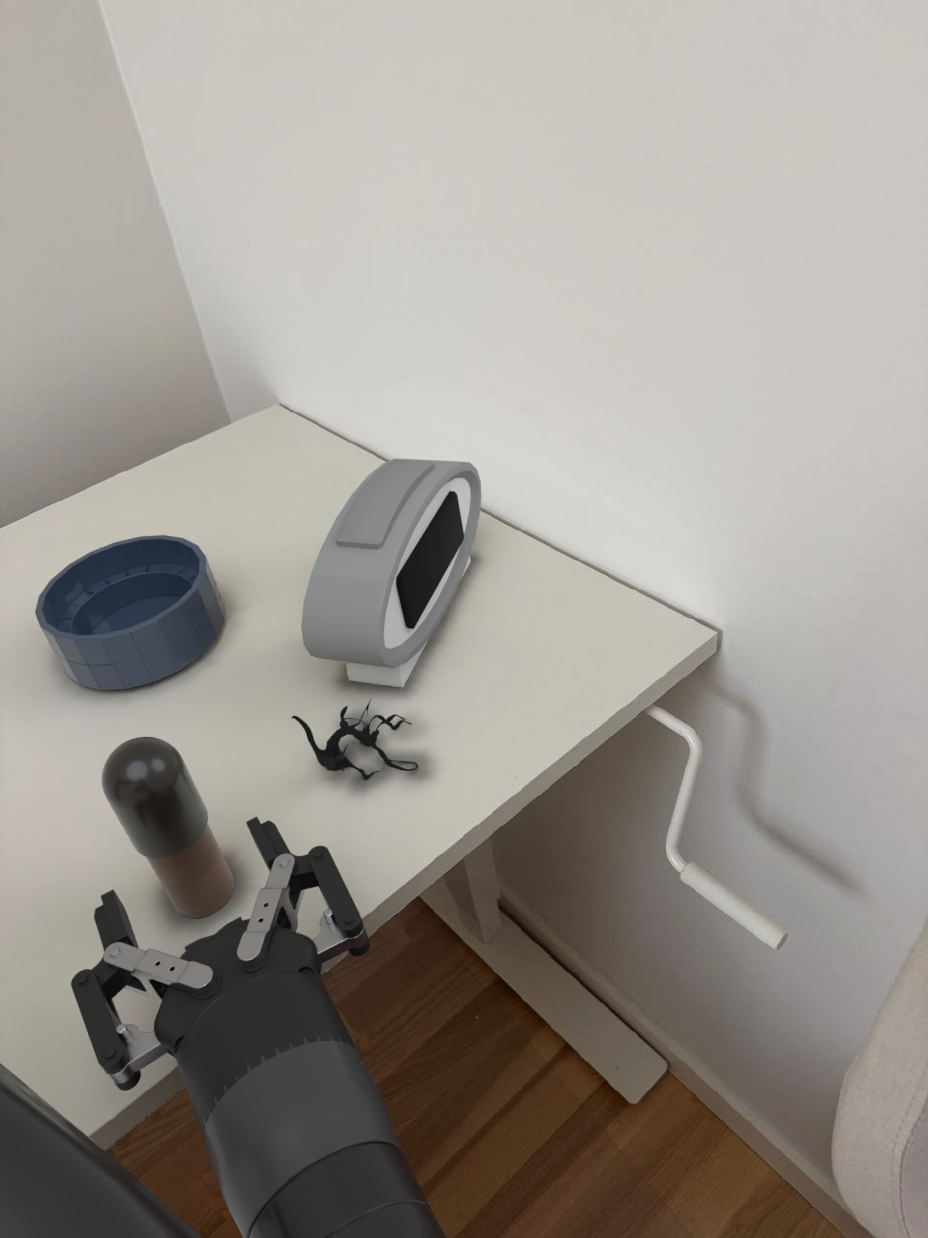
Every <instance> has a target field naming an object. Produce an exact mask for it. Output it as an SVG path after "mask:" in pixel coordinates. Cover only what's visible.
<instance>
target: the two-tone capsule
mask: <svg viewBox="0 0 928 1238" xmlns="http://www.w3.org/2000/svg"><path fill="white" fill-rule="evenodd" d="M101 786H102V787H101V788H102V791H103V794H104V797H105V799H106V800H107V802H108V804H109V806H110V807H111V809H112V811H113V813H114V814H115V816H116V818H117V820H118V821H119V823H120V825H121V827H122V829H123V830H124V832H125V833H126V835H127V837H128V840H129V841H130V842H131V844H132V846H133V847H134V849H135V850H136V852H137V853H138V854H140V855H142V857H143V856H144V857H145V858H146V860H147V861H148V863H149V865H150V866H151V869H152V870H153V873H154V874H155V875H156V877H157V879H158V881H159V882H160V885H161V886H162V888H163V890H164V891H165V894H166V895H167V897H168V899H169V900H170V902H171V904H172V906H173V907H174V910H175V911H176V912H177V913H178V914H179V915H181V916H183V917H185V918H189V919H202V918H207V917H209V916H211V915H213V914H215V913H217V912H218V911H219V910H221V909H222V908H223V907H224V906H225V905H226V904H227V903H228V902H229V900H230V899H231V897H232V896H233V894H234V889H235V883H236V882H235V877H234V874H233V873H232V870H231V868H230V867H229V865H228V863H227V860H226V858H225V856H224V854H223V852H222V849H221V848H220V846H219V844H218V841H217V840H216V837H215V835H214V833H213V831H212V829H211V827H210V825H209V811H208V809H207V807H206V805H205V802H204V800H203V798H202V796H201V794H200V792H199V790H198V788H197V786H196V784H195V781H194V779H193V777H192V775H191V773H190V771H189V769H188V767H187V765H186V763H185V760H184V758H183V756H182V755H181V753H180V752H179V751H178V749H176V747H174V746H173V745H172V744H171V743H169V742H168V741H166V740H164V739H162V738H159V737H154V736H139V737H134V738H131V739H128V740H126V741H124V742H122V743H120V744H119V745H118V746H117V747H116V748H114V749H113V751H112V752H111V753H110V754H109V756H108V757H107V759H106V761H105V762H104V765H103V767H102V772H101Z"/></svg>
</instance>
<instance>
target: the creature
mask: <svg viewBox="0 0 928 1238" xmlns="http://www.w3.org/2000/svg"><path fill="white" fill-rule="evenodd" d="M372 699H373V698H372V697H370V699H369V701H368V703H367V705H366V706H365V709H364V711H363V712H362V713H361V716H360V719H358V718H353V717H345V715H346V713H347V711H348V708H349V705H346V706H344V707H343V708H342V709H341V711H340V713H339V716H340V721H339V727H340V728H338V729H336V730H335V731H334V732H333V734H332V735H331V736H330V737H329V739H327V741H326V746H325V748H324V749H321V748H320V747H319V746H318V745H317V743H316V740H315V737H314V734H313V732H312V729H311V727H310V726H309V725H308V723H307V722H306V721H304V720H303V718H301V717H299V716H298V715H292V716H291V717H290V719H291V720H292V719H294V720H296V721H297V722H298V723H299V725H300V726H301V727H302V728H303V730H304V732H305V735H306V738H307V741H308V743H309V745H310V747H311V748H312V751H313V752H314V754H315V756H316V757H315V758H316V759H317V762H318V763H319V765H320V766H321V767H323V768H325V769H326V771H328V772H338V771H342V772H344V771H345V770H346V769H348V768H350V769H351V768H352V769H354V770H356V771H358V772H359V773H360V774H361V777H362V778H363V779H364V781H368V780H369V779H370V778H371V777H372V776H373V775H374V774H375V773H379V772H380V771H382V770H383V769H384V768H385V766H387V767H388V768H391V769H396V770H398V771H402V772H412V771H416V770H418V768H419V765H418V763H417V762H415V761H411V760H396V759H395V760H394V759H389V758H388V756H387V754H386V753H385V751H383V750H382V748H380V747H379V746H378V745H377V742H378V736H379V734H380V730H379V728H380V726H381V725H386V726H388V727H389V728H390V729H391V731H395V732H396V731H397V730H398V729H399V728H400V726H401V725H402V724H403V723H406V724H408V725H411V726H412V725H413V723H412V722H409V721H406V720H407V719H406V718H405V717H403V716H400V715H399V714H395V713H394V714H392V715H389V716H388V717H384V716H383V715H381V714H374V716H373V717H372V718H371V719H370V721H369V723H366V722H365V721H363V720H362V719H363V717H364V715H365V712H366V715H367V716H368V715H369V714H368V713H369V708H370V707H369V706H370V704H371V701H372ZM395 717H398V718H400V720H398V721H397V722H396V723H395V724H393V723H392V721H393V719H394V718H395ZM376 718H377V719H379V720H380V723H379V724H378V725H377V726H376V729H375V730H373V731H372V732H371V729H370V727H371V723H372V721H373V720H374V719H376ZM347 720H356V721H358V722H357V723H354V724H351V725H349V722H348V721H347ZM361 722H362V723H363V724H364V726H363V728H362V730H359V729H357V728H356V727H358V726H359V725H360V724H361ZM347 735H348V736H352V737H354V739H356V740H357V741H359V744H361V745H363V746H364V747H366V748H372V749H374V750H375V751H376V752H377V754H378V755H379V756H380V758H381V759H382V761H383V762H384V765H383V766H384V767H382V768H381V770H376V771H372V772H370V773H369V774H367V773H366V772H365V770H364V769H363V768H359V767H358V766H356V765H355V764H354V763H352V761H351V760H349V758H348V757H347V756H346V755H345V754H346V750H347V748H348V744H346V745H345V747H344V749H343V751H342V750H341V748H340V743H341V739H342V738H344V737H346V736H347ZM353 744H355V742H353V743H351V745H353ZM394 762H395V763H408V764H414V765H415V767H414V768H413V767H412V768H405V767H403V766H400V765H398V764H395V763H394Z"/></svg>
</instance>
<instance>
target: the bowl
mask: <svg viewBox="0 0 928 1238" xmlns="http://www.w3.org/2000/svg"><path fill="white" fill-rule="evenodd" d="M225 608H226V607H225V602H224V600H223V597H222V595H221V592H220V590H219V588H218V584H217V582H216V580H215V576H214V574H213V571H212V568H211V566H210V564H209V561H208V558H207V556H206V555H205V553H204V552H203V550H202V549H201V547H200V546H199V545H198V544H196V543H194V542H193V541H190V540H188V539H186V538H185V537H179V536H173V535H166V534H158V535H157V534H156V535H142V536H141V535H140V536H135V537H132V538H127V539H124V540H119V541H115V542H112V543H110V544H107V545H105V546H102V547H99V548H97V549H94V550H91V551H89V552H88V553H86V554H84V555H82V556H81V557H79V558H77V559H75V560H74V561H72V562H71V563H69V564H68V565H66V566H65V567H64V568H63V569H62V570H61V571H59V572H58V573H57V574H56V575H55V576H53V577H52V578H51V579H50V580H49V581H48V582H47V584H46V585H45V587H44V588H43V589H42V591H41V592H40V593H39V595H38V598H37V602H36V606H35V611H34V615H35V617H36V619H37V622H38V625H39V627H40V630H41V631H42V633H43V635H44V636H45V639H46V640H47V642H48V644H49V646H50V648H51V650H52V651H53V653H54V655H55V657H56V659H57V661H58V662H59V664H60V666H61V668H62V670H63V672H64V673H65V675H66V676H68V677H69V678H70V679H71V680H73V681H74V682H76V684H78V685H80V686H84V687H88V688H92V689H95V690H101V691H103V690H104V691H105V690H126V689H127V690H128V689H131V688H135V687H139V686H143V685H147V684H151V683H154V682H157V681H160V680H161V679H163V678H166V677H168V676H170V675H173V674H175V673H177V672H179V671H182V669H184V668H186V667H187V666H188V665H190V664H192V663H193V662H194V661H195V660H196V659H198V658H199V657H201V656H202V655H203V654H204V653H205V652H206V651H207V649H209V648H210V647H211V645H212V644H213V643H214V642H215V641H216V640H217V639H218V637H219V635H220V632H221V631H222V628H223V627H224V624H225V621H226V609H225Z"/></svg>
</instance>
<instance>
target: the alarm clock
mask: <svg viewBox="0 0 928 1238" xmlns="http://www.w3.org/2000/svg"><path fill="white" fill-rule="evenodd" d="M481 481H482V480H481V477H480V475H479V470H478V469H477V468H476V467H475V466H474V464H472V462H470V461H459V460H458V461H457V460H439V459H438V460H437V459H415V458H392V459H390V460H388V461H386V462H384V463H383V462H382V463H381V464H380V465H379V466H378V467H377V468H376V469H374V470H373V471H372V472H371V473H369V474H368V475H367V476H366V477H365V478H364V479H363V480H362V482H361V483H360V484H359V485H358V487H357V488H356V489H355V490H354V491H353V492H352V494H351V495H350V497H349V498H348V500H346V503H345V504H344V506H343V507H342V509H341V510H340V511H339V513H338V515H336V518H335V520H334V522H333V524H332V526H331V527H330V529H329V531H328V533H327V534H326V537H325V539H324V541H323V543H322V545H321V547H320V550H319V552H318V555H317V558H316V560H315V563H314V565H313V568H312V570H311V573H310V577H309V580H308V583H307V588H306V592H305V595H304V598H303V599H304V600H303V605H302V616H301V623H300V627H301V635H302V642H303V643H302V644H303V646H304V648H305V650H306V651H307V653H308V654H309V655H310V657H313V658H316V659H321V660H328V661H333V662H334V661H335V662H341V663H342V662H343V663H345V665H346V672H347V673H346V674H347V678H348V681H351V682H358V683H364V684H365V683H366V684H372V685H373V684H374V685H380V686H388V687H395V688H396V687H397V688H404V687H405V685H406V683H407V681H408V679H409V678H410V675H411V673H412V671H413V670H414V668H415V666H416V665H417V662H418V660H419V658H420V657H421V655H422V653H423V651H424V649H425V648H426V645H427V643H428V641H429V640H430V638H431V636H432V635H433V634H434V633H435V631H436V629H437V627H438V626H439V624H440V622H441V621H442V620H443V617H444V615H445V614H446V612H447V611H448V608H449V607H450V604H451V603H452V600H453V598H454V596H455V594H456V592H457V590H458V587H459V585H460V583H461V581H462V579H463V576H464V575H465V573H466V571H467V570H468V567H469V565H470V563H471V561H472V559H471V551H472V549H473V545H474V543H475V539H476V533H477V529H478V525H479V521H480V514H481V505H482V482H481Z"/></svg>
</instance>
